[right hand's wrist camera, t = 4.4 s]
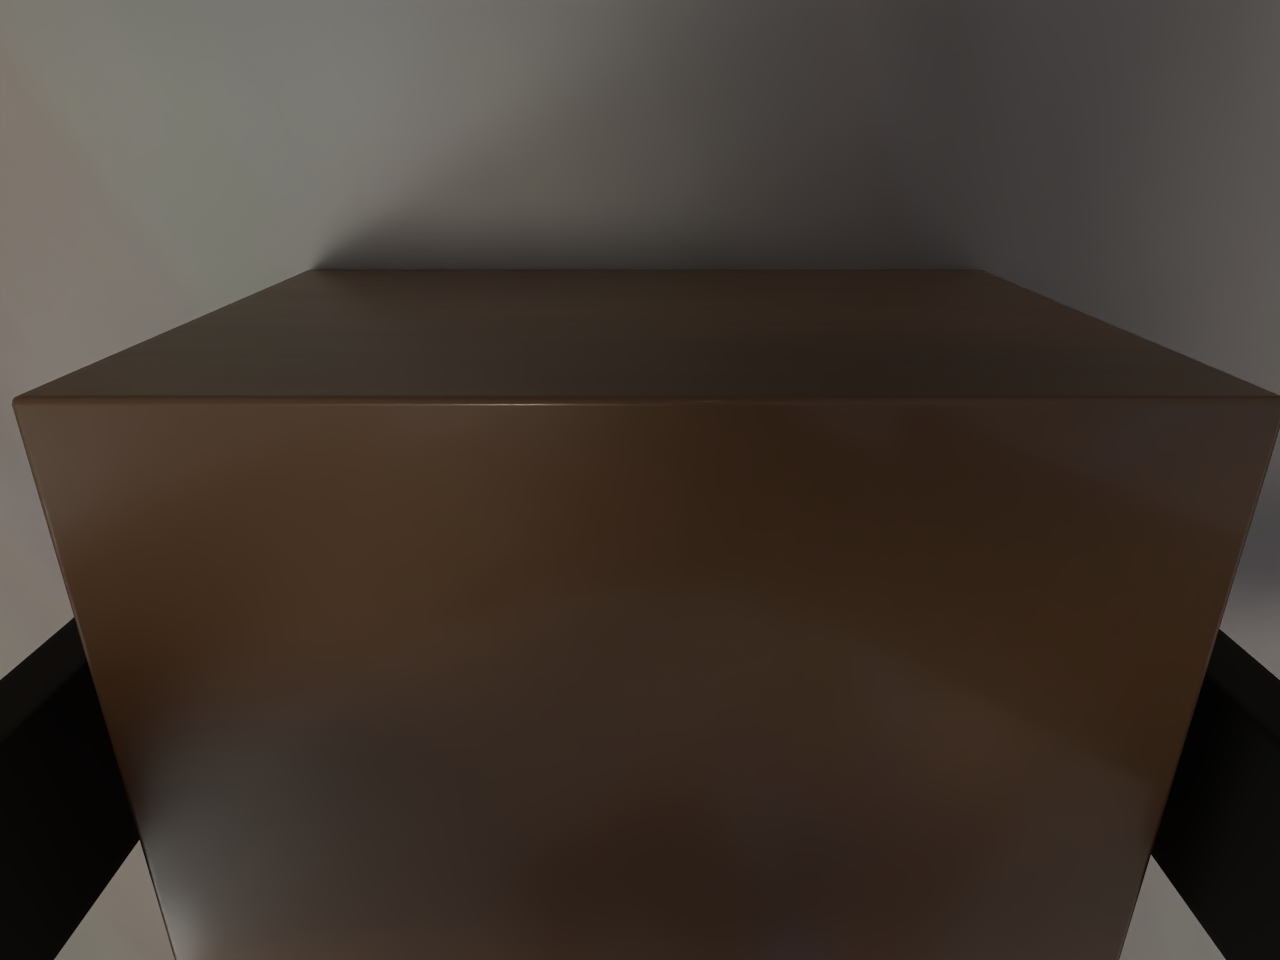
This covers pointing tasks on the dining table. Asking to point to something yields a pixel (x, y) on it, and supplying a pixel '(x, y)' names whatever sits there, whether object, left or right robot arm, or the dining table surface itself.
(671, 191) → the dining table surface
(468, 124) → the dining table surface
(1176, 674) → the thick board
